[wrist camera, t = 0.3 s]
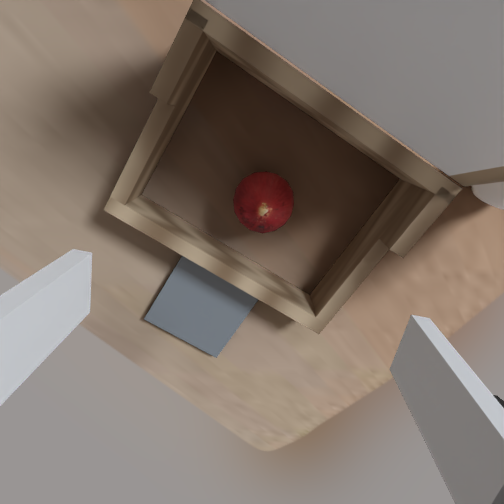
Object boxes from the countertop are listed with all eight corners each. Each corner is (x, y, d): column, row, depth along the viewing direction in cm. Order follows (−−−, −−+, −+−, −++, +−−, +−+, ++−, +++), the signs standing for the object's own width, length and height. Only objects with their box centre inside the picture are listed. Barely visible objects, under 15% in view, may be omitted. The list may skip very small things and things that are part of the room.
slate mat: (146, 314, 43) (143, 319, 42) (185, 250, 40) (183, 253, 39) (217, 352, 45) (216, 357, 44) (260, 293, 42) (260, 297, 41)
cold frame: (123, 198, 38) (88, 218, 31) (210, 25, 32) (194, -4, 25) (312, 310, 42) (323, 351, 35) (421, 174, 36) (462, 188, 29)
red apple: (282, 226, 39) (287, 252, 31) (230, 214, 38) (223, 237, 31) (297, 174, 37) (306, 188, 29) (243, 160, 36) (238, 171, 29)
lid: (178, -703, 6) (215, -762, 6) (196, -6, 25) (205, -21, 25) (943, 125, 10) (965, 89, 10) (463, 186, 29) (471, 174, 29)
